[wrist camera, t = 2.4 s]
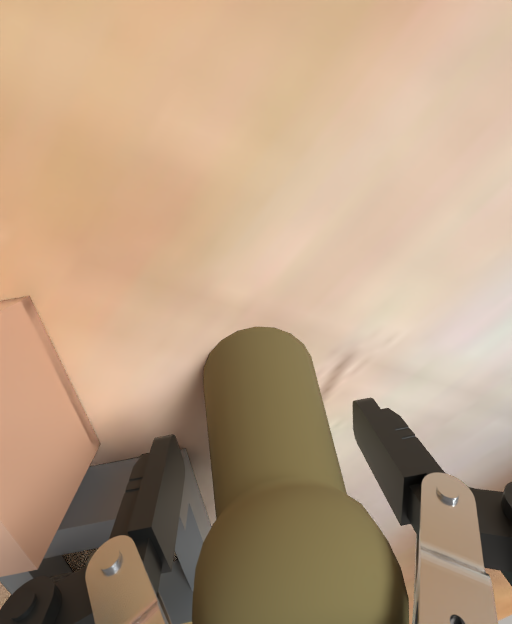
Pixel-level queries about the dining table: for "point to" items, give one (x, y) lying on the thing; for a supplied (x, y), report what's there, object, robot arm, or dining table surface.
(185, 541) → the checker cradle
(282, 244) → the dining table surface
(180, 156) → the dining table surface
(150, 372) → the dining table surface
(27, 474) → the cup
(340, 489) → the olive gourd
